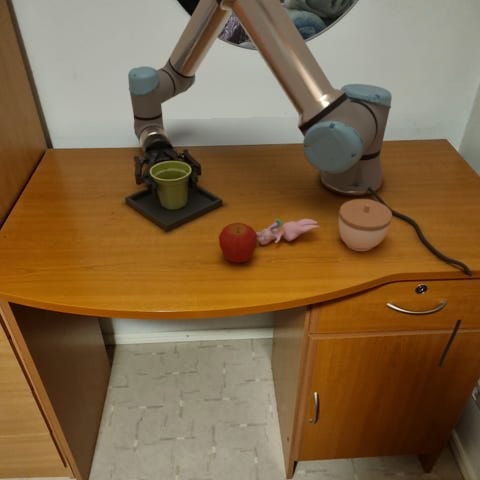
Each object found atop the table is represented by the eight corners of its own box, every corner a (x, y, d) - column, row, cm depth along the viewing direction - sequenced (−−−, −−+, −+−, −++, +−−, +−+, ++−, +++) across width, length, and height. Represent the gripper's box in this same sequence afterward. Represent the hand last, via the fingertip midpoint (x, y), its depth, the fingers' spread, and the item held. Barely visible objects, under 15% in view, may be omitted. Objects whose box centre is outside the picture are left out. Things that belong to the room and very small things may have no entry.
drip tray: (222, 205, 116) (222, 199, 114) (167, 232, 107) (166, 226, 106) (180, 180, 124) (179, 174, 123) (125, 203, 116) (124, 197, 115)
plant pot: (155, 194, 119) (150, 161, 113) (193, 192, 119) (190, 159, 113) (153, 215, 112) (148, 180, 106) (194, 213, 113) (191, 179, 107)
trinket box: (384, 260, 100) (395, 222, 94) (332, 254, 102) (339, 216, 95) (384, 232, 108) (393, 194, 101) (336, 226, 109) (342, 189, 103)
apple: (255, 246, 104) (256, 215, 98) (257, 269, 98) (258, 237, 93) (219, 247, 104) (218, 215, 98) (219, 270, 98) (218, 238, 92)
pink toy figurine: (256, 256, 103) (323, 239, 104) (252, 234, 99) (322, 216, 99) (250, 240, 108) (314, 223, 108) (246, 218, 103) (313, 200, 104)
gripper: (197, 155, 129) (221, 197, 113) (117, 167, 124) (131, 212, 109) (196, 127, 123) (220, 168, 108) (112, 138, 119) (125, 182, 103)
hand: (175, 190), depth 108 cm, fingers closed on plant pot, 8 cm apart
